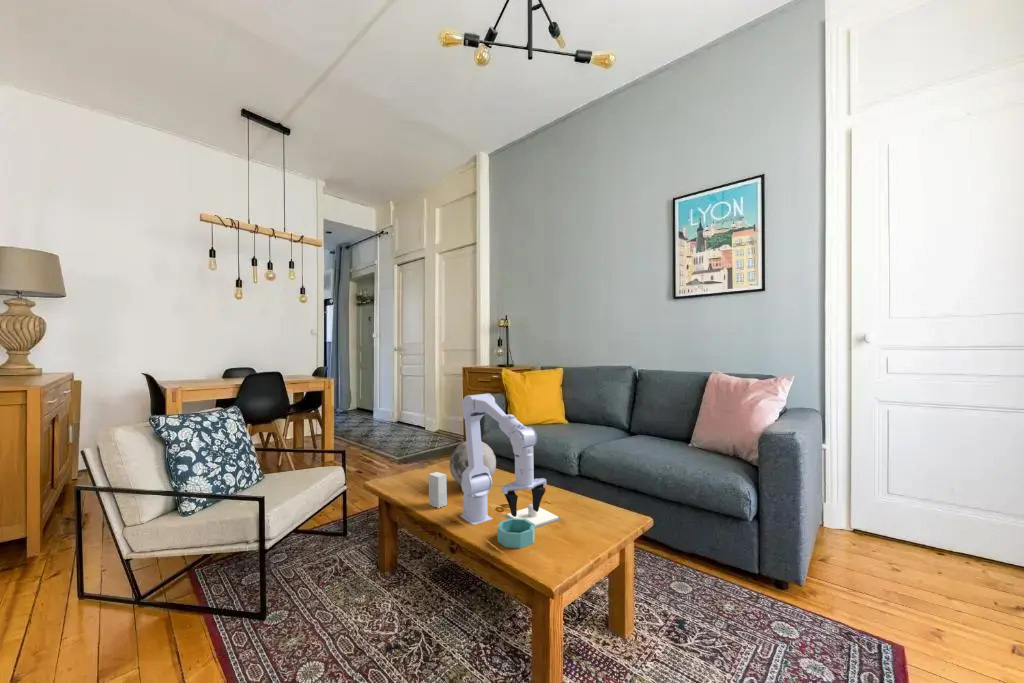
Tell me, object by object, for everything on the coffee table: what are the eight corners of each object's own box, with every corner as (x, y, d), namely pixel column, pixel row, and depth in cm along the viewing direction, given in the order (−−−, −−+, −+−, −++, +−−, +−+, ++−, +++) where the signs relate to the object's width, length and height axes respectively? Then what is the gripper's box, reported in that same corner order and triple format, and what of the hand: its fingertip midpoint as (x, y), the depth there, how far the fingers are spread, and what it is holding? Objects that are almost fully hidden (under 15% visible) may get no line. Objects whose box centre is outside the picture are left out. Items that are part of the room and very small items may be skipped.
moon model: (486, 476, 192) (485, 433, 192) (503, 490, 173) (503, 442, 174) (444, 483, 183) (443, 438, 183) (458, 498, 165) (457, 448, 165)
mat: (503, 516, 147) (503, 515, 147) (536, 506, 155) (536, 505, 155) (528, 531, 135) (528, 530, 135) (562, 520, 143) (562, 518, 143)
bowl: (492, 538, 130) (491, 524, 130) (520, 529, 137) (520, 515, 137) (511, 552, 121) (511, 537, 121) (541, 542, 127) (540, 527, 127)
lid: (506, 515, 147) (506, 504, 147) (535, 506, 154) (535, 495, 154) (528, 528, 136) (528, 516, 136) (558, 518, 143) (558, 506, 143)
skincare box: (447, 505, 158) (446, 474, 158) (438, 509, 155) (437, 477, 155) (437, 501, 162) (437, 471, 162) (428, 505, 159) (428, 474, 159)
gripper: (508, 475, 119) (509, 522, 119) (551, 468, 125) (552, 512, 125) (498, 469, 125) (499, 514, 125) (539, 462, 132) (540, 504, 132)
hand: (524, 512), depth 126 cm, fingers open, 7 cm apart
